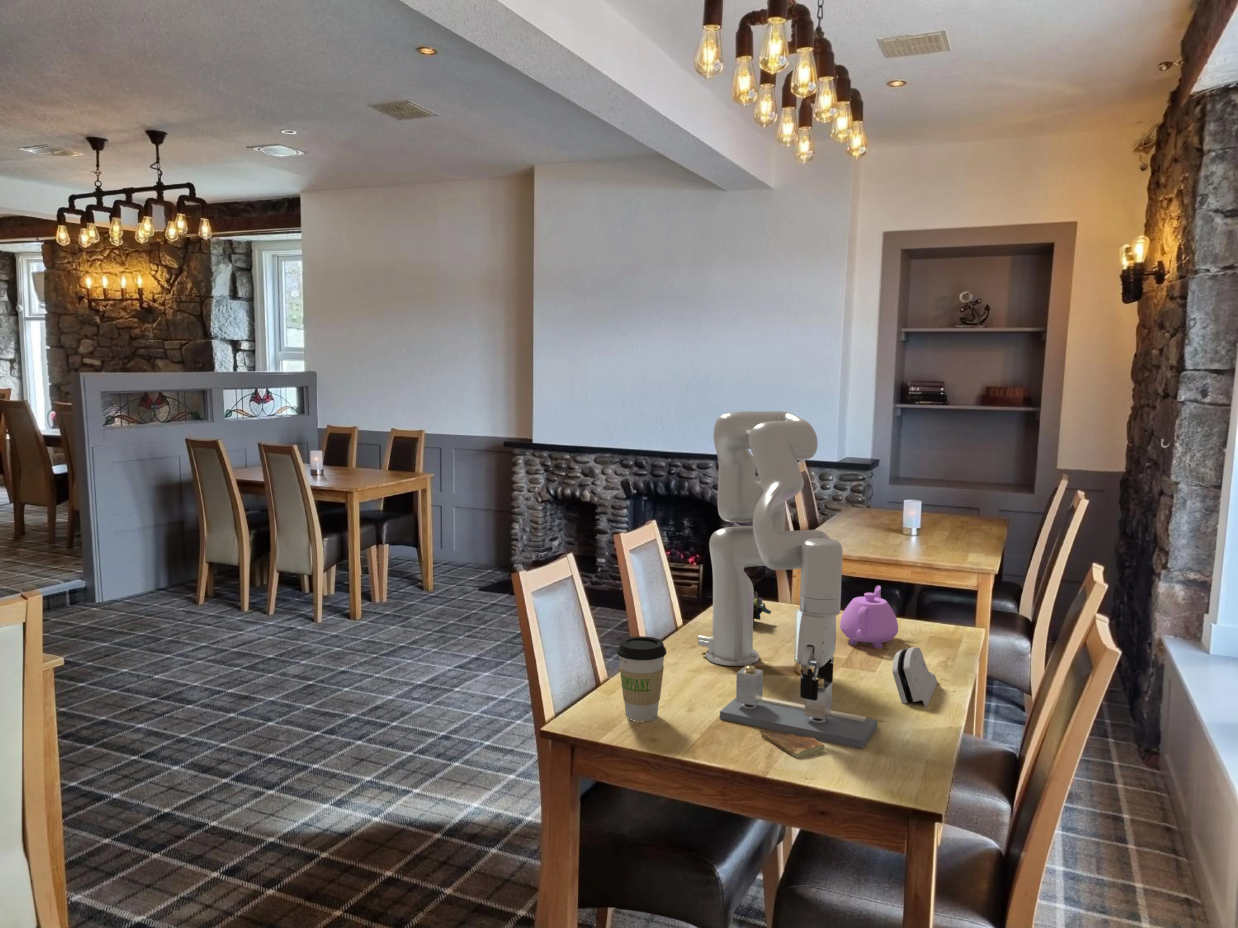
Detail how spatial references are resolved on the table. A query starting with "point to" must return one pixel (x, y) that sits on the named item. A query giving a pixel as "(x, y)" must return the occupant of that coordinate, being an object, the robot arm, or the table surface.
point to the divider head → (820, 701)
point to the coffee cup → (641, 676)
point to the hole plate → (802, 721)
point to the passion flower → (758, 607)
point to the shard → (794, 743)
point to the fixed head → (749, 685)
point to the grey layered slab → (913, 676)
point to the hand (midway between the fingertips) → (816, 689)
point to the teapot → (869, 620)
